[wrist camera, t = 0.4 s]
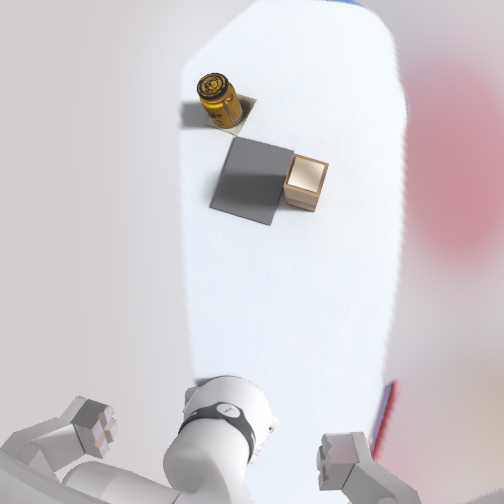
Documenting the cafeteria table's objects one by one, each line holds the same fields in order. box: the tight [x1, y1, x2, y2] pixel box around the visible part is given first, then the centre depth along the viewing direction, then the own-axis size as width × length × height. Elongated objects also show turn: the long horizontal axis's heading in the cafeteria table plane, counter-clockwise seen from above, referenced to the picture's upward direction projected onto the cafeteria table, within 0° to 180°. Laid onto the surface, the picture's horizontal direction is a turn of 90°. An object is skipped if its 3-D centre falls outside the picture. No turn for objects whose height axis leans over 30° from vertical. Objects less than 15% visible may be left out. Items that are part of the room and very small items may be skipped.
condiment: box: [197, 73, 256, 136], centre depth 50 cm, size 7×8×12 cm
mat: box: [212, 136, 294, 225], centre depth 54 cm, size 14×11×1 cm
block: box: [283, 154, 329, 212], centre depth 47 cm, size 5×5×13 cm
